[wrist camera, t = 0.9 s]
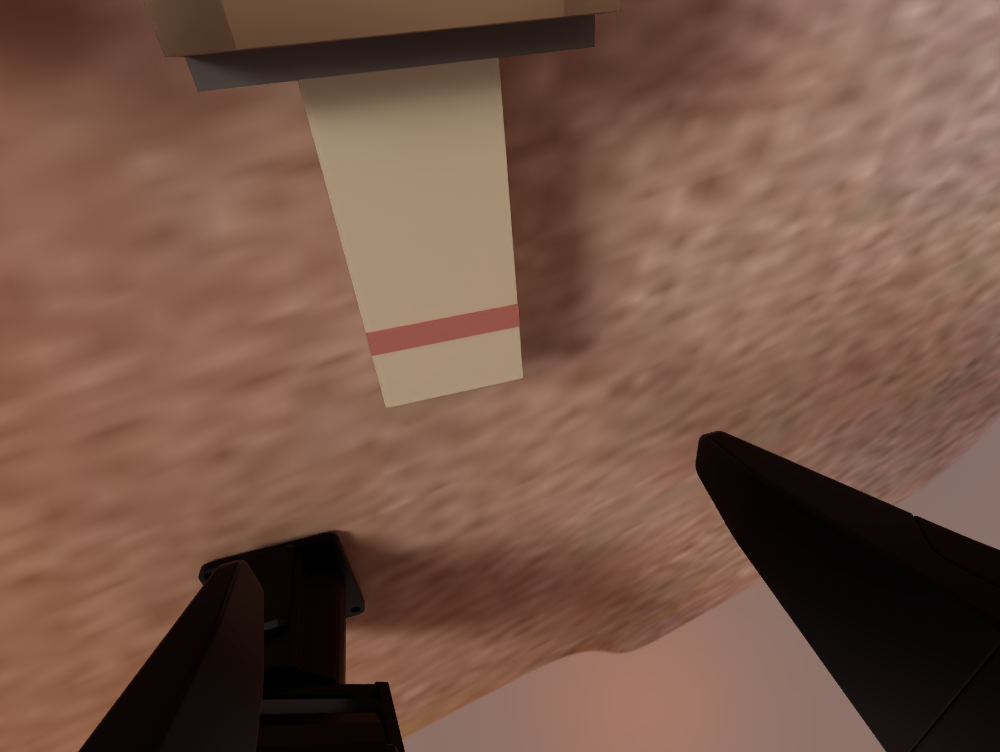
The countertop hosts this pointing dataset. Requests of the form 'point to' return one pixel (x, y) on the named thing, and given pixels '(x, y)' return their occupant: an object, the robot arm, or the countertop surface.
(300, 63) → the brown block
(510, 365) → the cream striped pillar
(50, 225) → the countertop surface
